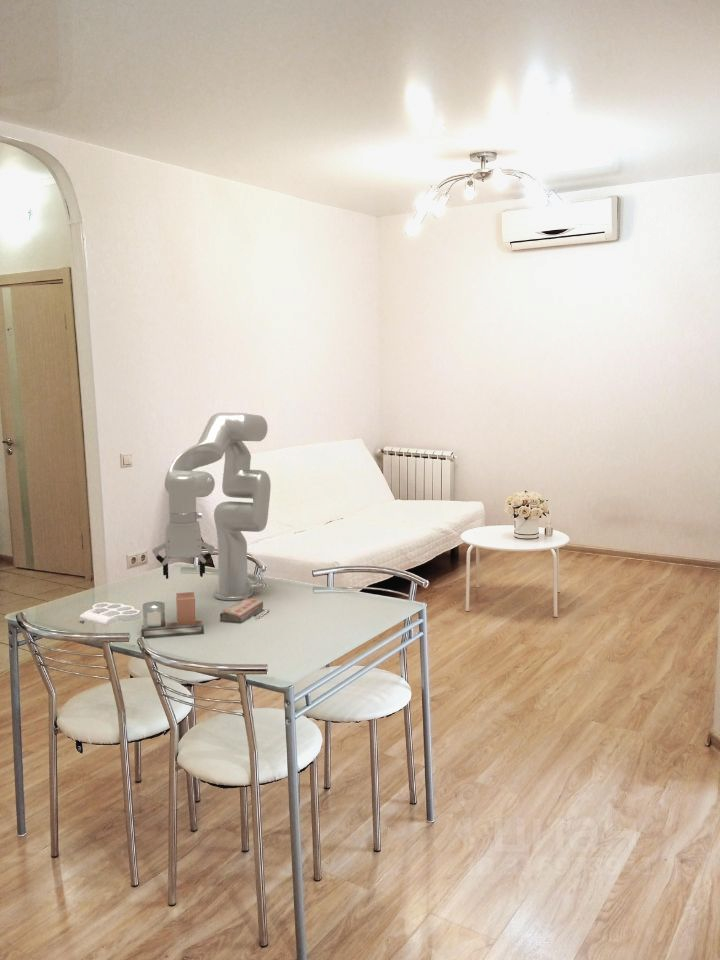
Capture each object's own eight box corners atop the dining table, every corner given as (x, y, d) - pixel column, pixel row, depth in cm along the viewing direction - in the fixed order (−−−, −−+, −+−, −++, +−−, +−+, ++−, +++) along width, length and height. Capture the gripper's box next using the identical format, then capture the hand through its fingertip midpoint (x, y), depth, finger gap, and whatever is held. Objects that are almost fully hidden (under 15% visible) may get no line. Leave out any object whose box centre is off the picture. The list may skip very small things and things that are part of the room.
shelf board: (201, 624, 239) (201, 612, 239) (204, 637, 228) (203, 625, 227) (142, 628, 235) (141, 616, 235) (141, 642, 224) (141, 630, 223)
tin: (165, 627, 233) (164, 600, 232) (165, 634, 227) (164, 606, 226) (143, 629, 231) (142, 602, 230) (143, 636, 226) (142, 608, 224)
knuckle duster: (72, 621, 243) (111, 609, 255) (113, 632, 233) (151, 619, 246) (72, 611, 242) (110, 599, 255) (112, 621, 233) (151, 608, 245)
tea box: (195, 629, 232) (195, 598, 230) (177, 630, 230) (176, 600, 229) (194, 621, 238) (193, 591, 237) (176, 622, 237) (175, 593, 236)
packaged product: (240, 595, 254) (269, 598, 251) (241, 610, 255) (269, 613, 251) (211, 611, 237) (241, 615, 234) (211, 627, 238) (241, 631, 235)
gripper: (212, 514, 235) (213, 572, 237) (151, 516, 231) (153, 575, 233) (214, 519, 228) (215, 578, 230) (151, 521, 224) (153, 581, 226)
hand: (184, 576), depth 232 cm, fingers open, 9 cm apart
